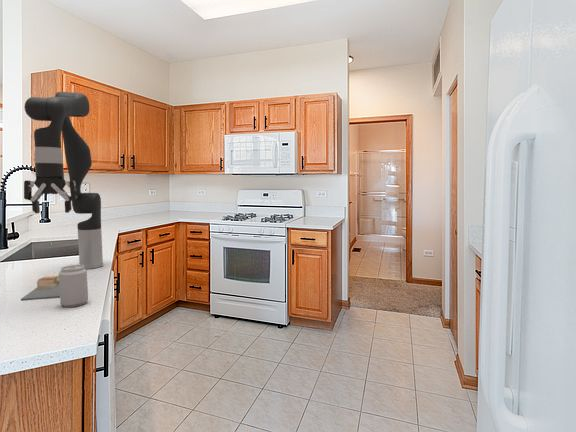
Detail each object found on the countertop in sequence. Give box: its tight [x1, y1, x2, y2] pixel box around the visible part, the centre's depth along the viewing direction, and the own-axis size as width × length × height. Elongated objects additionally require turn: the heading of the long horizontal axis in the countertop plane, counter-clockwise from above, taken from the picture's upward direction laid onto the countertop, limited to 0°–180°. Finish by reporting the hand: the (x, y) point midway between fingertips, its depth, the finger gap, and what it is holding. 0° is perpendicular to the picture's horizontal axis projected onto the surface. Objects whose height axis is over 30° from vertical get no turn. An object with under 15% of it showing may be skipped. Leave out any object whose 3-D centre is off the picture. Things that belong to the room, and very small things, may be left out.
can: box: [58, 264, 89, 308], centre depth 111 cm, size 8×8×12 cm
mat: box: [20, 284, 60, 301], centre depth 126 cm, size 20×14×1 cm
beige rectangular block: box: [36, 274, 59, 289], centre depth 128 cm, size 8×5×3 cm, turn 16°
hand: (52, 212), depth 114 cm, fingers open, 8 cm apart
